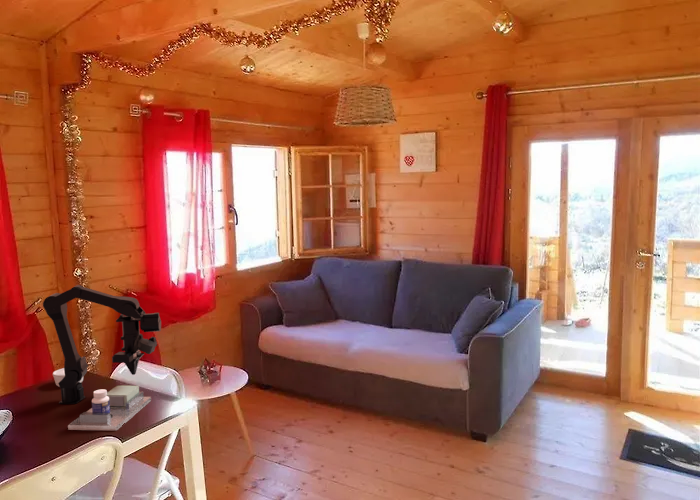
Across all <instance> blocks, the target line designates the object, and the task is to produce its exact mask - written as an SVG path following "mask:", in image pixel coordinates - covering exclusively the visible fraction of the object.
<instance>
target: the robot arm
mask: <svg viewBox="0 0 700 500" xmlns="http://www.w3.org/2000/svg"><path fill="white" fill-rule="evenodd" d="M74 299H80V300H83V301H88V302H91V303H94V304H97V305H102V306H105V307H108V308H111V309H112V310H114V311H115V312H116V313H118V314H119V317H118V318H117V319H115V322H116V323H121V326H122V336H121V337H120V340H121V341H123V342H122V343H123V344H122V345H123V346H122V347H121V351H117V353H115V354H113V355H112V356H111V359H112V362H111V363H114V364H115V363H118V364H124V365H125V366H126V367H127V369H128V371H129V372H130V374H131V376H132V375H133V376H134V375H136V374H137V370H138V365H139V362H140V359H141V358H142V357H143V356H144V355H145V354H148V355H151V354H152V353H153V352H155V349H156V347H157V346H158V341H157V338H156V337H155V336H151V337H150V338H144V335H143V333H140V331H142V332H144V333H154V332H161V331H162V320H161V316H160V312H154V313H153V312H152V313H147V312H146V311H145V310H144V309H143V308H142V307H141V306H140V303H139V300H138V299H137V298H135V297H132V296H124V295H123V296H119V295H118V296H117V295H112V294H108V293H105V292H102V291H98V290H97V289H96V290H95V289H92V288H89V287H85V286H83V285H80V284H77V285H75V286H73V287H71V288H70V289H68V290H66V291H64V292H61V293H60V292H55V293H52V294H51V295H49V296H47V297H45V298H44V300H43V301H42V307H43V309H44V311H45V313H46V315H47V316H48V317H49V318H50V319H51V320H52V322H53V325H54V328H55V332H56V334H57V338H58V342H59V345H60V348H61V352H62V354H63V357H64V361H63V362H64V367H63V368H64V372H65V377H64V378H63V379H62V380H61V381H60V382H59V383H58V384H59V386H60V387H59V388H60V395H61V400H59V402H58V404H61V405H62V404H63V405H65V404H67V405H70V404H71V405H75V404H79V402H81V401H82V400H84V399H85V398H86V396H85V394H84V393H85V392H84V391H85V390H84V386H83V382H81V383H80V382H79V381H80V380H81V379H82V377H83V376H86V374H87V372H88V368H89V364H88V363H87V358H86V356H80V354H79V352H78V349H77V345H76V342H75V340H74V335H73V333H72V330H71V326H70V324H69V320H68V303H69V302H71V301H73V300H74ZM83 378H84V377H83Z"/></svg>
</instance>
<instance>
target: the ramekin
mask: <svg viewBox="0 0 700 500" xmlns="http://www.w3.org/2000/svg"><path fill="white" fill-rule="evenodd" d="M52 376H53V379H54V382H55V383H54V384H55V385H56V386H57V387H59V388H60V386H59V384H58V383H59V382H60V381H61V380H62V379H63V378H64V377H65V372H64V367H63V368H59V369H57V370H54V371H53V372H52ZM84 376H85V375H84ZM84 376H83V377H82V379H81V380H80V381H79V382H80V383H83V381H84Z"/></svg>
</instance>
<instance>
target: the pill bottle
mask: <svg viewBox="0 0 700 500" xmlns="http://www.w3.org/2000/svg"><path fill="white" fill-rule="evenodd" d="M92 392H93V398H92V399H91V408H92V412H98V413H110V402H109V397H108V396H106V395H107V393H108V391H107V389H97V390H94V391H92Z"/></svg>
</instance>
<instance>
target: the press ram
mask: <svg viewBox="0 0 700 500" xmlns="http://www.w3.org/2000/svg"><path fill="white" fill-rule="evenodd" d="M139 392H140V385H116V386H115V387H113V388H112V389H110V390H109V391H107V395H106V396H108V397H109V402H110V406H126V402H128V401H129V400H130V399H131V398H133V397H134V396H135V395H137V394H138V393H139Z"/></svg>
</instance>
